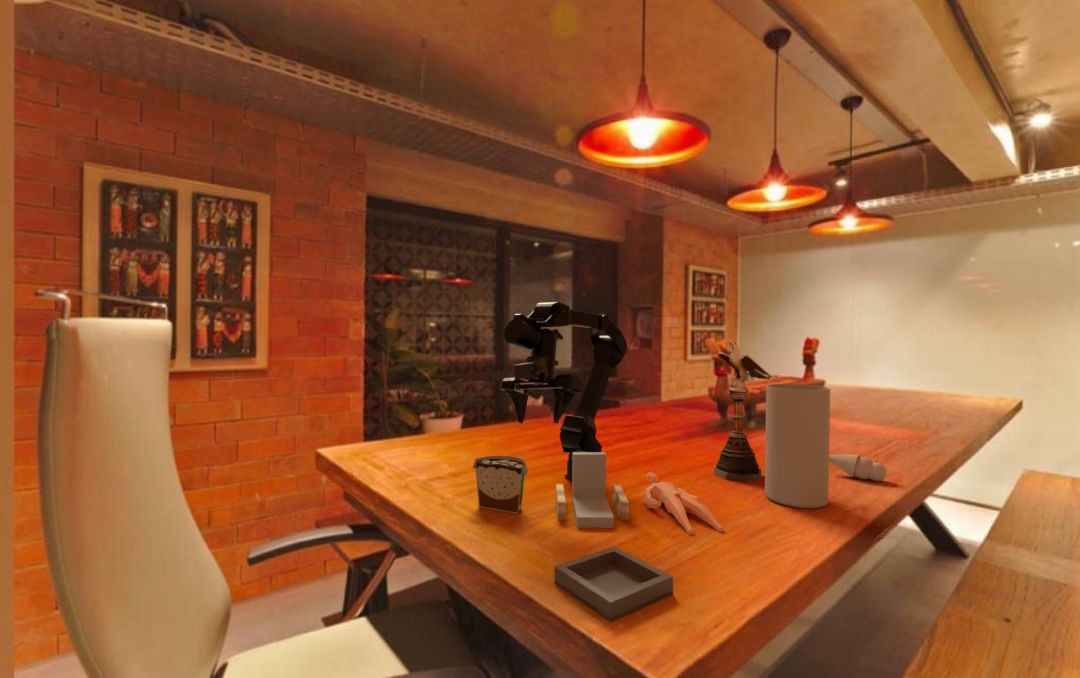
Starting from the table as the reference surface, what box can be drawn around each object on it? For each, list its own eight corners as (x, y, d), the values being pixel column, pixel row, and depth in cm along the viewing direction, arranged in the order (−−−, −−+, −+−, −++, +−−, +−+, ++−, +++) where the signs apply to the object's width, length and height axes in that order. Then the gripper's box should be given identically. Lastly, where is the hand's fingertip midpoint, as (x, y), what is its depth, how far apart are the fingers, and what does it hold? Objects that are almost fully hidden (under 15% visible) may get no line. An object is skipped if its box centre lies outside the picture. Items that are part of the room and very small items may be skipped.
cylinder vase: (834, 499, 112) (836, 387, 112) (819, 514, 103) (821, 391, 103) (775, 487, 121) (777, 382, 120) (756, 499, 112) (757, 387, 111)
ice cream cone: (816, 470, 135) (883, 491, 126) (815, 459, 131) (884, 480, 121) (823, 450, 137) (889, 469, 128) (822, 439, 133) (890, 458, 124)
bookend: (572, 502, 109) (572, 452, 109) (604, 502, 109) (604, 452, 109) (576, 527, 96) (577, 469, 95) (613, 527, 96) (614, 470, 95)
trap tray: (614, 561, 82) (614, 546, 81) (672, 594, 72) (673, 576, 72) (554, 583, 75) (554, 566, 75) (610, 621, 65) (610, 602, 65)
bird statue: (749, 463, 142) (750, 338, 141) (786, 476, 129) (788, 340, 129) (700, 469, 136) (701, 339, 135) (734, 483, 124) (736, 340, 123)
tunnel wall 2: (612, 499, 111) (612, 484, 111) (619, 499, 111) (619, 484, 111) (621, 520, 99) (621, 502, 99) (629, 520, 99) (629, 502, 99)
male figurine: (680, 519, 92) (628, 470, 116) (679, 545, 92) (627, 491, 117) (733, 515, 94) (671, 467, 118) (732, 540, 95) (670, 488, 119)
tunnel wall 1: (555, 499, 111) (556, 483, 111) (562, 499, 111) (562, 483, 111) (557, 520, 99) (558, 502, 99) (565, 520, 99) (565, 502, 99)
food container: (537, 505, 108) (538, 458, 107) (524, 515, 102) (525, 465, 102) (487, 497, 113) (487, 452, 112) (472, 505, 107) (472, 458, 107)
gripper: (489, 348, 114) (481, 417, 110) (560, 341, 104) (555, 417, 100) (517, 360, 123) (511, 425, 119) (585, 355, 113) (581, 425, 109)
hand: (537, 423), depth 111 cm, fingers open, 9 cm apart
